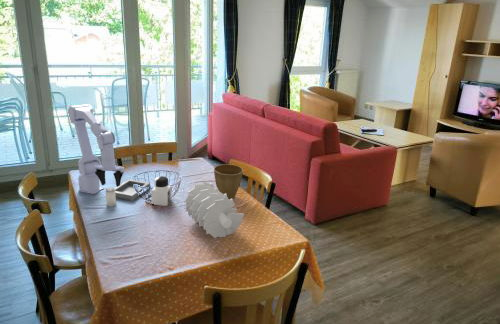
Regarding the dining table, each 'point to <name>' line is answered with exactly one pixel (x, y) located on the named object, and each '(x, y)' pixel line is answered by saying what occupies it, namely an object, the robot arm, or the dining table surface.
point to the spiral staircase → (212, 210)
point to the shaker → (110, 196)
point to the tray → (129, 189)
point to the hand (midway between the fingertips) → (110, 185)
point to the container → (161, 191)
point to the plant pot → (228, 179)
